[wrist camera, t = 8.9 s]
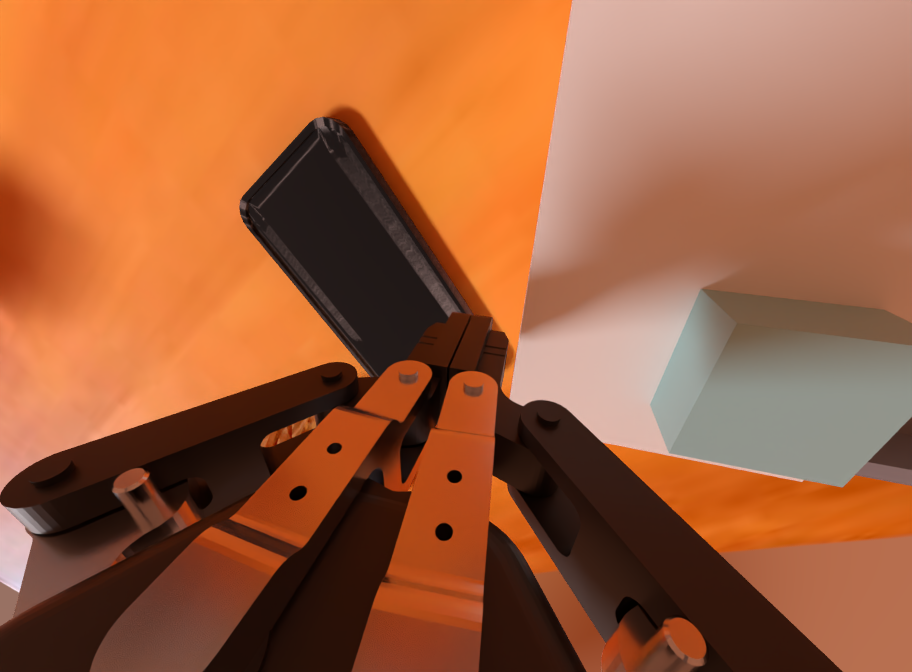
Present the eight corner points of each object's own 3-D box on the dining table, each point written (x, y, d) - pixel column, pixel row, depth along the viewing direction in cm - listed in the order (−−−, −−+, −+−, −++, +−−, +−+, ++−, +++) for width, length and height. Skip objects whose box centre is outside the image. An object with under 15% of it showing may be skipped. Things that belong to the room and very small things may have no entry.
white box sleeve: (575, -18, 11) (586, -89, 8) (1043, -35, 9) (1348, -145, 6) (513, 373, 19) (505, 423, 16) (751, 414, 17) (802, 482, 14)
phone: (326, 104, 14) (506, 375, 18) (340, 106, 15) (508, 363, 19) (230, 209, 17) (401, 416, 22) (246, 206, 18) (407, 405, 23)
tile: (700, 288, 11) (737, 323, 9) (884, 309, 10) (974, 353, 8) (649, 404, 14) (668, 453, 11) (793, 429, 13) (842, 487, 10)
